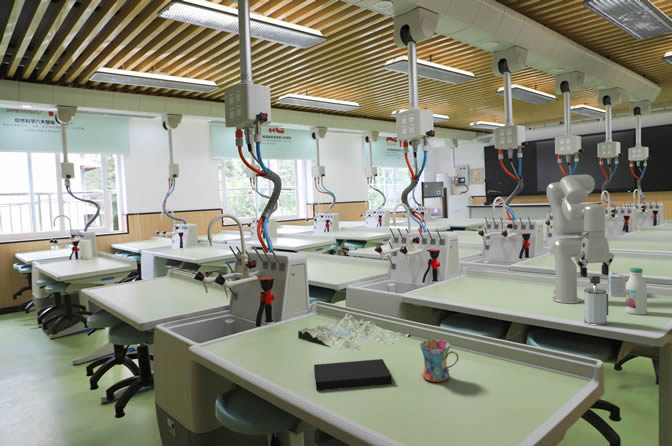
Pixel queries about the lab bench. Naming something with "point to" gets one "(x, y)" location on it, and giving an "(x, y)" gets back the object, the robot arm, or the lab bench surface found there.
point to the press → (595, 306)
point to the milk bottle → (636, 293)
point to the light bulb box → (616, 284)
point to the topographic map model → (347, 333)
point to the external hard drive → (351, 374)
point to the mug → (436, 360)
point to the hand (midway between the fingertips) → (594, 275)
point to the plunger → (595, 281)
